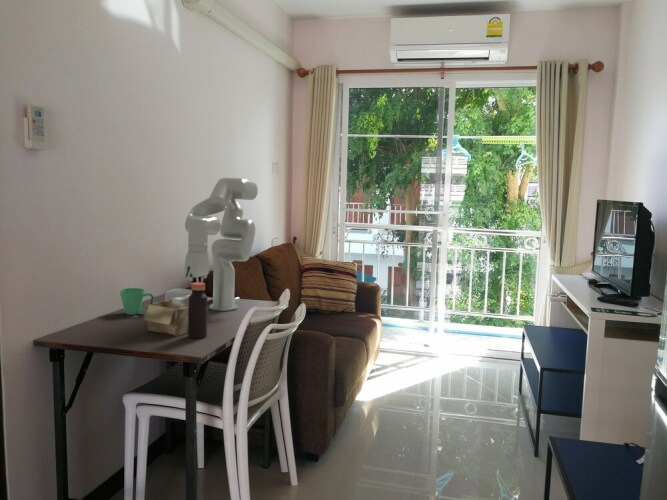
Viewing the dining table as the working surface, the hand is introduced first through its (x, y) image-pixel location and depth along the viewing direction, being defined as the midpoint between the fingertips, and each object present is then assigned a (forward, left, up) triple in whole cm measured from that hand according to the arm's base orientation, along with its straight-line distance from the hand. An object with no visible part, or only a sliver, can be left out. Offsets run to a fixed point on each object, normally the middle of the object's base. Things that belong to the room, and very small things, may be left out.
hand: (197, 293), depth 224 cm
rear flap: (0, 0, -2) cm, 2 cm away
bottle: (+15, +13, -12) cm, 24 cm away
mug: (+2, -30, -12) cm, 33 cm away
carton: (+12, 0, -12) cm, 17 cm away
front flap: (+21, 0, -5) cm, 22 cm away
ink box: (-2, -12, -12) cm, 17 cm away
